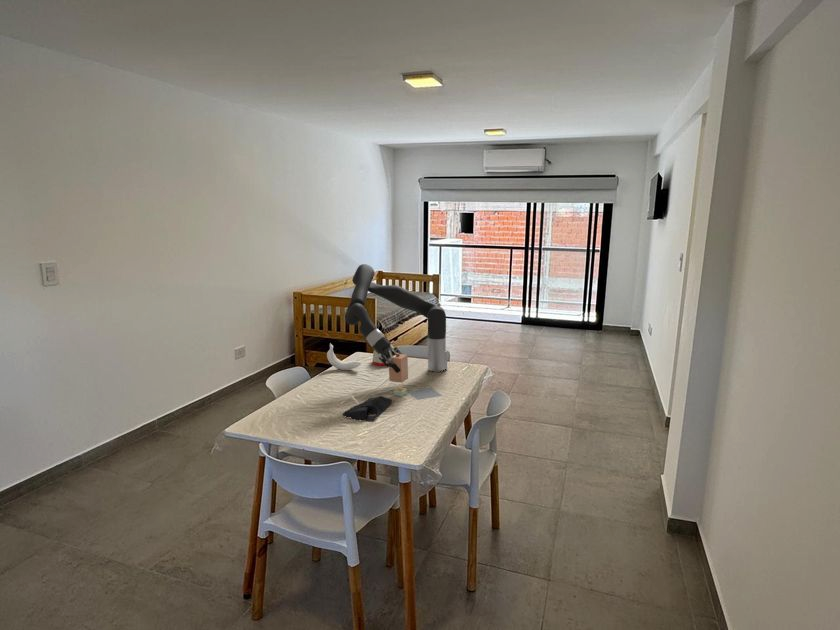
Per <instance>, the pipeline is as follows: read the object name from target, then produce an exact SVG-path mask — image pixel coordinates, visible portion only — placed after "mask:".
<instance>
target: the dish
mask: <svg viewBox="0 0 840 630" xmlns="http://www.w3.org/2000/svg"><path fill="white" fill-rule="evenodd" d="M398 388H399V387H397V388H395V389H393V396H397V397H398V396H400V397H403V396H405V395H406V394H407V393H408V392H407V391H408V388H404V387H402V388H403V389H404V390H403V391H397V389H398Z"/></svg>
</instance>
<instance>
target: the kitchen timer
mask: <svg viewBox="0 0 840 630" xmlns="http://www.w3.org/2000/svg"><path fill="white" fill-rule="evenodd" d="M384 336H385V337H386V338H387V339H388V337H387V335H385V334H384ZM390 346H391V347H392V348H395V347H394V346H393V344H391V345H390ZM380 356H381V354H378V353H377V352H376V351H375V350H374V349H373V353H372V365H375V366H378V367H387V366H386V365H385V364H384V363H383V362H382V361H381V360H380V359H379V357H380ZM386 363H387V362H386ZM387 364H388V363H387Z"/></svg>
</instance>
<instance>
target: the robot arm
mask: <svg viewBox="0 0 840 630" xmlns="http://www.w3.org/2000/svg"><path fill="white" fill-rule="evenodd" d="M374 276H375V269H374V268H373V266H371V265H369V264H365V263H362V264H360V265H358V267H357V268H356V269H355V272H354V274H353V277H352V283H353V284H354V285H355V286H354V287H353V288H354V289H353V292H352V294H351V298H350V302H349V304H348V306H347V308H346V311H345V312H344V320H345V322H346V323H347V324H348V325H350V326H355V325H357V324H359V322H360V324H359V328H358V331H359V333H360V334H361V336H363V337H364V338H365V340H366V341H367V343H368V344H369V345H370V346H371V348H372V349H373V351H374V350H375V351H376V352H377V353H378V354H381V356H380V357H379V359H380V360H381V361H382V362H383V363H384V364H385V365H386V366H385V367H386V368H389V367H392V368H393V369H394V370H395V372H396V373H398V372H399V371H400V369H399V367H398V366H397V365H396V364H395V363H394V361H393V360H392V357H393V356H394V355H396V353H400V354H403V353H402V352H401V351H400V349H399V348H398V347H397V346H395V347H394V348H392V347H391V346H390V345H392V343H391V341H390V340H389V339H388V337H387V336H386V337H387V338H386V337H385V334H384V333H383V332H382V331H381V330H379V328H378V327H377V326H376V325H375V323H373V321H372V319H371V317H370V314H369V312H368V310H367V308H366V307H365V305H366V303H367V297H368V293H371V294H374V295H377V296H378V297H380V298H382V299H385V300H387V301H388V302H391V303H392V304H394V305H396V306H398V307H400V308H403V309H406V310H408V311H412V312H415V313H418V314H420V315H421V316H424V317H425V319H427V370H428V371H429V370H430V372H432V371H434V372H433V373H440V371H441V372H444V371H446V370H445V369H447V370H448V351H446V350H447V349H446V348H447V346H446V345H447V344H446V342H447V341H446V340H447V339H446V338H447V337H446V335H447V313H446V311H445V309H444V308H443V307H441V306H439V305H437V304H434V303H432V302H429V301H426V300H424V299H422V298H421V297H420V296H418V295H416V294H415V293H413V292H411V291H410V290H408V289H406V288H404V287H402V286H400V285H395V284H389V285H382V284H378V283H376V282H374V281H373V279H374V278H375V277H374ZM388 357H390V359H388ZM390 361H391V362H390ZM386 362H387V363H388V364H387V363H386ZM443 370H444V371H443Z"/></svg>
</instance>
